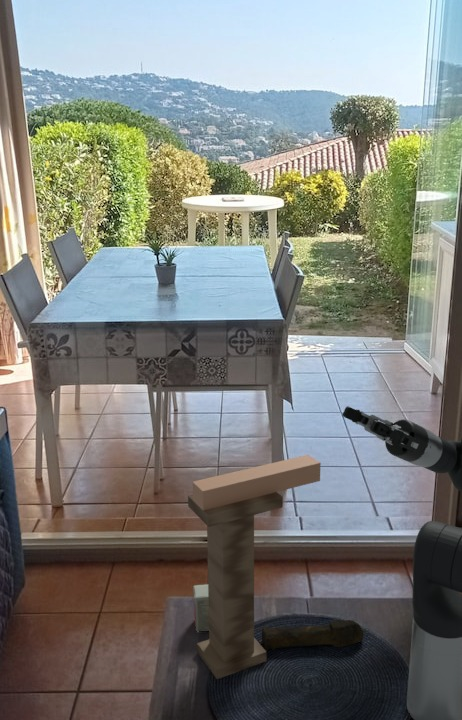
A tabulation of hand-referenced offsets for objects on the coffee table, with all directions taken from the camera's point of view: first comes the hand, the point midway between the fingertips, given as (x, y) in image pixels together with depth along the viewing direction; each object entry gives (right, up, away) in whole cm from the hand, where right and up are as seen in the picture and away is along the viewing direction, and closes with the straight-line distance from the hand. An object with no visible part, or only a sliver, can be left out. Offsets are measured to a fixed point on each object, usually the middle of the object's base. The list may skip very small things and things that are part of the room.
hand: (358, 418), depth 137 cm
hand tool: (-9, -42, 0) cm, 43 cm away
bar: (-19, -12, -11) cm, 25 cm away
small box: (-29, -41, +5) cm, 50 cm away
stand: (-24, -43, -4) cm, 49 cm away
